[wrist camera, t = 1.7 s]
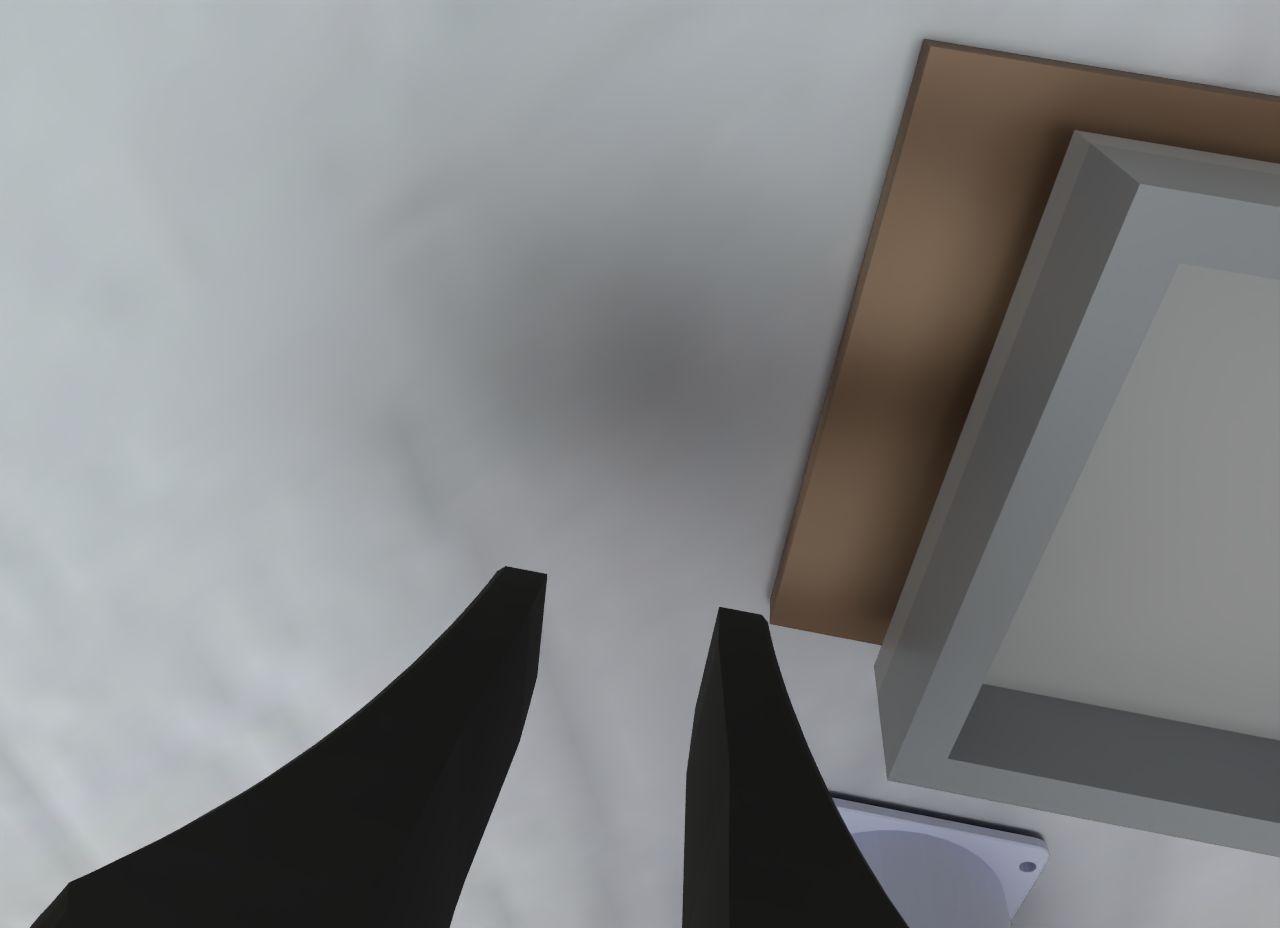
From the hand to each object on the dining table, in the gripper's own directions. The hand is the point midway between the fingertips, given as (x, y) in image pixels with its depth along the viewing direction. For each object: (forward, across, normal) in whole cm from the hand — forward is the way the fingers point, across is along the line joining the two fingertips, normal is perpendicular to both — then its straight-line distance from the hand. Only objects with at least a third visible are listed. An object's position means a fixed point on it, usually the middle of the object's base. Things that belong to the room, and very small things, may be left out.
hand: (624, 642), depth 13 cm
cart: (+9, -12, 0) cm, 15 cm away
